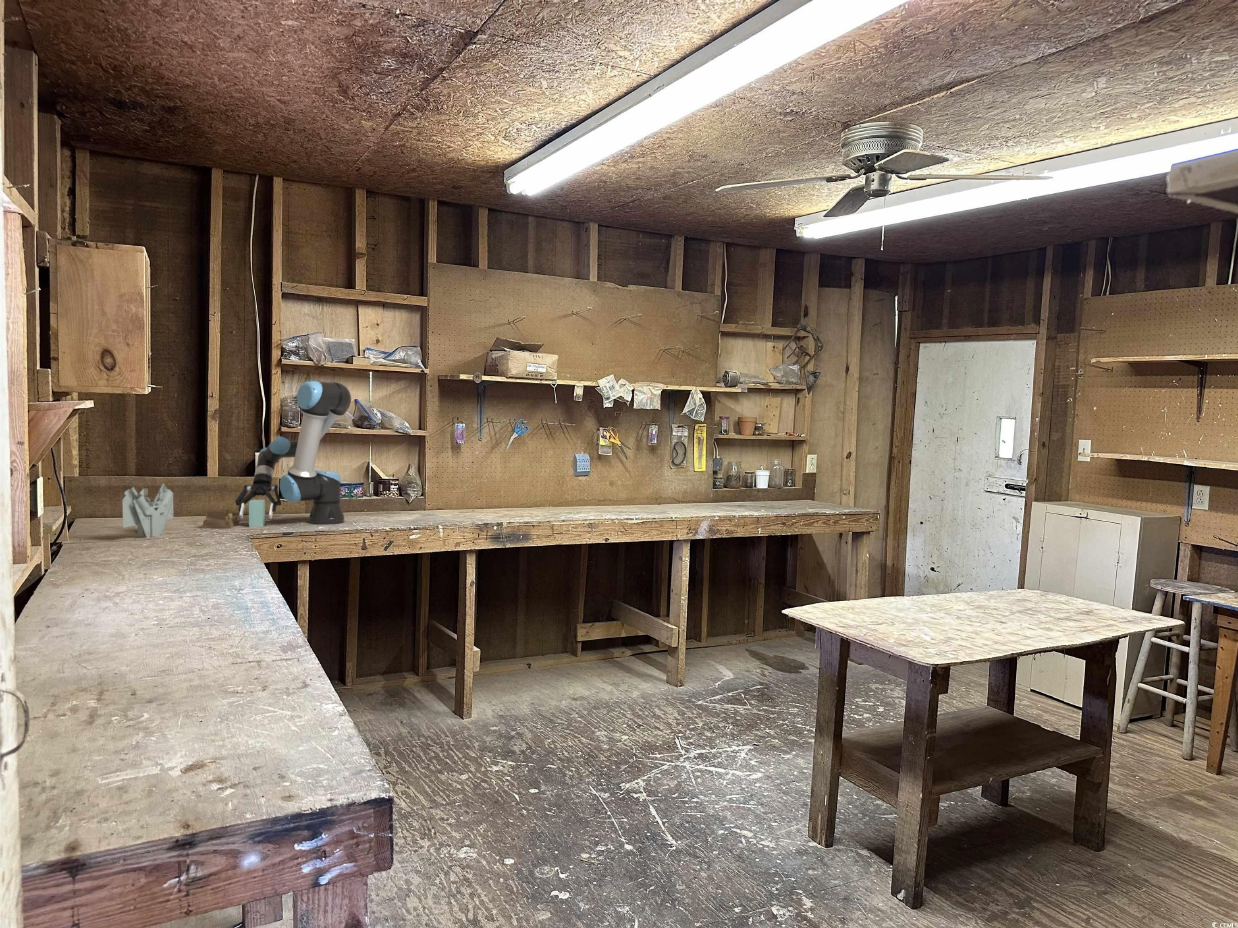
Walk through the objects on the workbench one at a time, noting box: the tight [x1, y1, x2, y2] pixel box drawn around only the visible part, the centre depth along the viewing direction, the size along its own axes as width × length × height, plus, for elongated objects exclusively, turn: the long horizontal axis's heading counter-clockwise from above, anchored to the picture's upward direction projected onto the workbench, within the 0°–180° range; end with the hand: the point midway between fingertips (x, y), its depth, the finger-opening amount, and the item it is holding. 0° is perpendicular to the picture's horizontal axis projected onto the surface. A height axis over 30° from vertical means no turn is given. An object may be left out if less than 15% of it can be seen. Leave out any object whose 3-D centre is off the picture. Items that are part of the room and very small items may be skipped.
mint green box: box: [248, 499, 266, 528], centre depth 353 cm, size 7×5×11 cm
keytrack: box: [201, 510, 240, 529], centre depth 351 cm, size 15×11×7 cm
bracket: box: [121, 483, 174, 538], centre depth 320 cm, size 28×7×20 cm, turn 171°
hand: (255, 516), depth 350 cm, fingers open, 11 cm apart
